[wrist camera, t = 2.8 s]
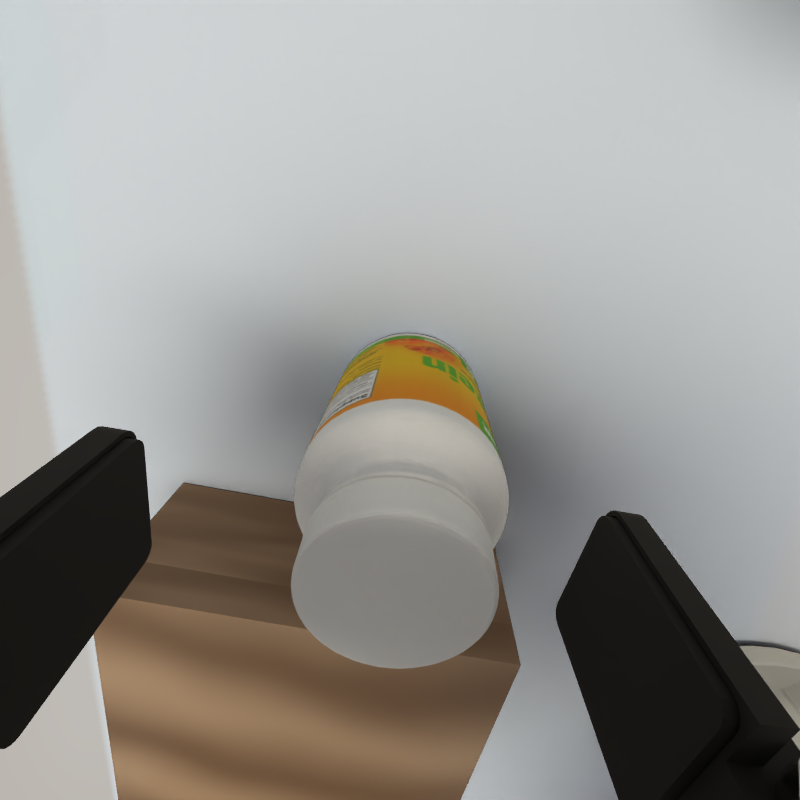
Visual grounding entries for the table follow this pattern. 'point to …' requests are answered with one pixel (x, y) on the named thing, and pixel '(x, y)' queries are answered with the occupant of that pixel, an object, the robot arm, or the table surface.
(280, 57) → the table surface
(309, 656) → the shelf stand
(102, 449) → the robot arm
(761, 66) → the table surface
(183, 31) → the table surface
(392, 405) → the supplement bottle
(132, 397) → the table surface
